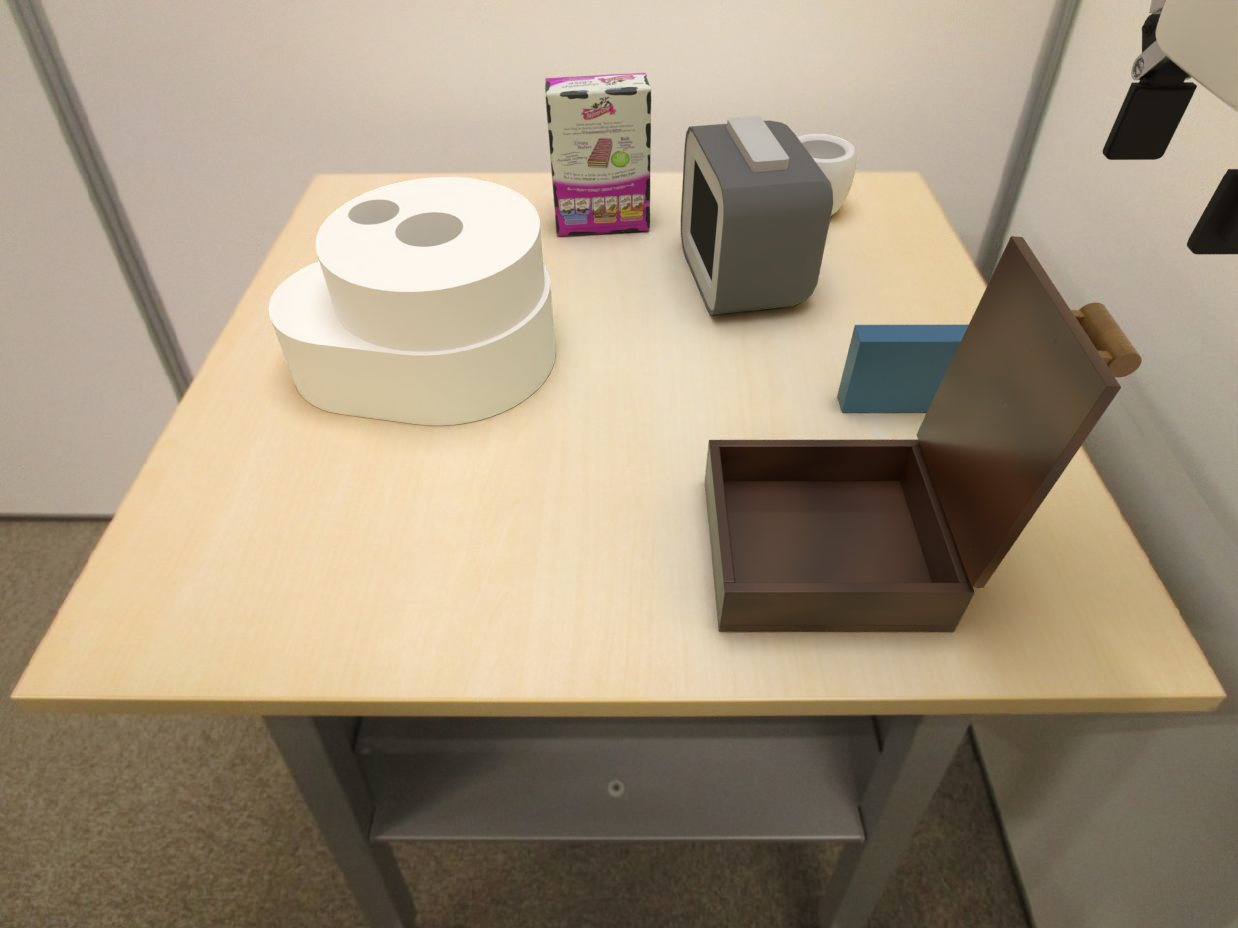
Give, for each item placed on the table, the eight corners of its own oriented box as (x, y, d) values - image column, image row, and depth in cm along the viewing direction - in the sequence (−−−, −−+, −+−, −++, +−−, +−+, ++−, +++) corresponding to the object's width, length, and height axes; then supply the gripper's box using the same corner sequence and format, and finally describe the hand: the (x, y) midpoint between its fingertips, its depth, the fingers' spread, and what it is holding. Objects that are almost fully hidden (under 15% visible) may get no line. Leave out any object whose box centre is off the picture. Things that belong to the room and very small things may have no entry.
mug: (773, 191, 102) (782, 129, 96) (841, 193, 102) (854, 131, 96) (780, 241, 94) (790, 176, 88) (854, 243, 93) (869, 179, 88)
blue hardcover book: (841, 412, 73) (860, 341, 67) (837, 395, 75) (854, 324, 69) (975, 412, 73) (1005, 341, 67) (967, 395, 75) (995, 324, 69)
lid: (1106, 386, 41) (1205, 393, 41) (1010, 235, 51) (1090, 242, 51) (971, 588, 53) (1048, 592, 54) (916, 434, 64) (980, 438, 64)
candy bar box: (645, 211, 99) (648, 70, 87) (650, 232, 95) (654, 88, 84) (553, 216, 98) (543, 75, 86) (555, 237, 95) (545, 93, 83)
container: (306, 311, 85) (264, 188, 75) (546, 289, 87) (535, 167, 77) (281, 443, 71) (225, 313, 61) (566, 412, 73) (556, 282, 64)
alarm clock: (679, 242, 94) (686, 106, 82) (773, 234, 95) (793, 98, 84) (713, 326, 82) (727, 180, 71) (820, 314, 84) (851, 170, 72)
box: (718, 631, 57) (724, 592, 54) (704, 480, 67) (708, 439, 64) (954, 632, 57) (975, 592, 54) (904, 480, 67) (919, 439, 64)
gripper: (1722, -197, 24) (1347, 296, 36) (1352, -257, 36) (1166, 128, 48) (1463, -195, 24) (1178, 297, 36) (1181, -255, 36) (1039, 129, 48)
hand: (1171, 200), depth 42 cm, fingers open, 9 cm apart
